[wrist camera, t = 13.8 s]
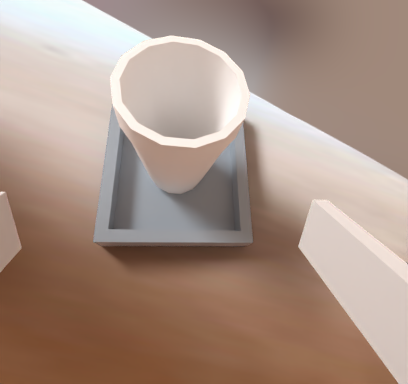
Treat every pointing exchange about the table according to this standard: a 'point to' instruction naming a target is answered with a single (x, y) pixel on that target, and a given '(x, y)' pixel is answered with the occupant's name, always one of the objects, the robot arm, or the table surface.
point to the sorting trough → (172, 201)
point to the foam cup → (178, 107)
